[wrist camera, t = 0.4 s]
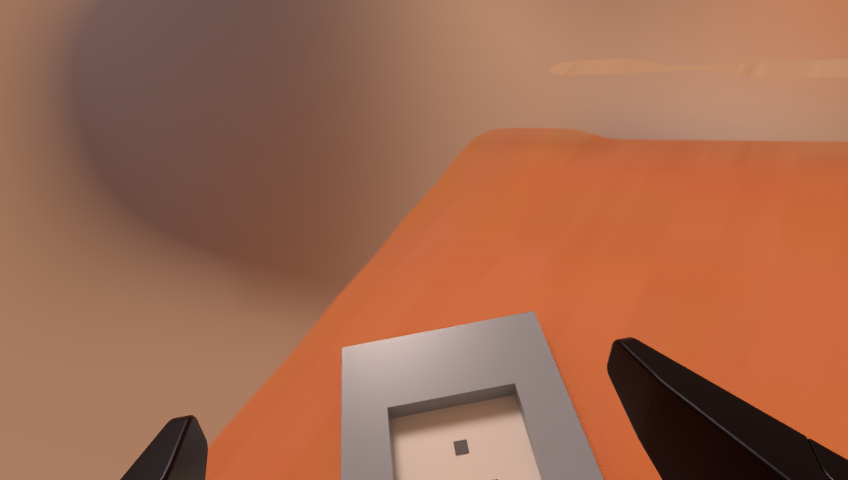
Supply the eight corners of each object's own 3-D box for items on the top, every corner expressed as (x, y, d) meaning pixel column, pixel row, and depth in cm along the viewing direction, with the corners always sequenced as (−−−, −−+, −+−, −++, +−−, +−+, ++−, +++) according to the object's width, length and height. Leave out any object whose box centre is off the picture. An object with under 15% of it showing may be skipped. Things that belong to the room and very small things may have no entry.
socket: (668, 665, 17) (678, 660, 16) (349, 730, 17) (339, 728, 16) (533, 326, 29) (533, 311, 28) (347, 361, 29) (342, 347, 28)
